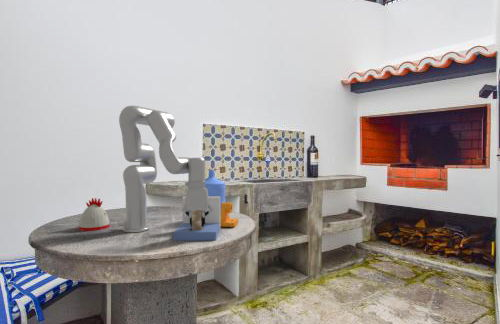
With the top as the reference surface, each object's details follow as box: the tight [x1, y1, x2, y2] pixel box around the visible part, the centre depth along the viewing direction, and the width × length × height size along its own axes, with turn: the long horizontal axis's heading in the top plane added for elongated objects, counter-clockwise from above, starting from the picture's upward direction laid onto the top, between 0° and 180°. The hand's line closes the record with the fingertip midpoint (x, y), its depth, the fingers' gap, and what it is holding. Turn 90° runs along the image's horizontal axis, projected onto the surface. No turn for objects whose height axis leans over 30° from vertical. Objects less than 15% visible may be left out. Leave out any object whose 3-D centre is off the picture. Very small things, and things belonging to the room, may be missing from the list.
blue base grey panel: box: [172, 196, 221, 242], centre depth 140 cm, size 18×20×16 cm
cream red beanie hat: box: [78, 197, 111, 232], centre depth 155 cm, size 14×14×15 cm
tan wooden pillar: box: [192, 210, 203, 230], centre depth 137 cm, size 4×6×10 cm, turn 0°
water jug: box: [205, 169, 226, 214], centre depth 173 cm, size 16×16×28 cm
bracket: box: [220, 201, 239, 228], centre depth 158 cm, size 11×7×12 cm, turn 168°
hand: (197, 225), depth 137 cm, fingers closed on tan wooden pillar, 4 cm apart
